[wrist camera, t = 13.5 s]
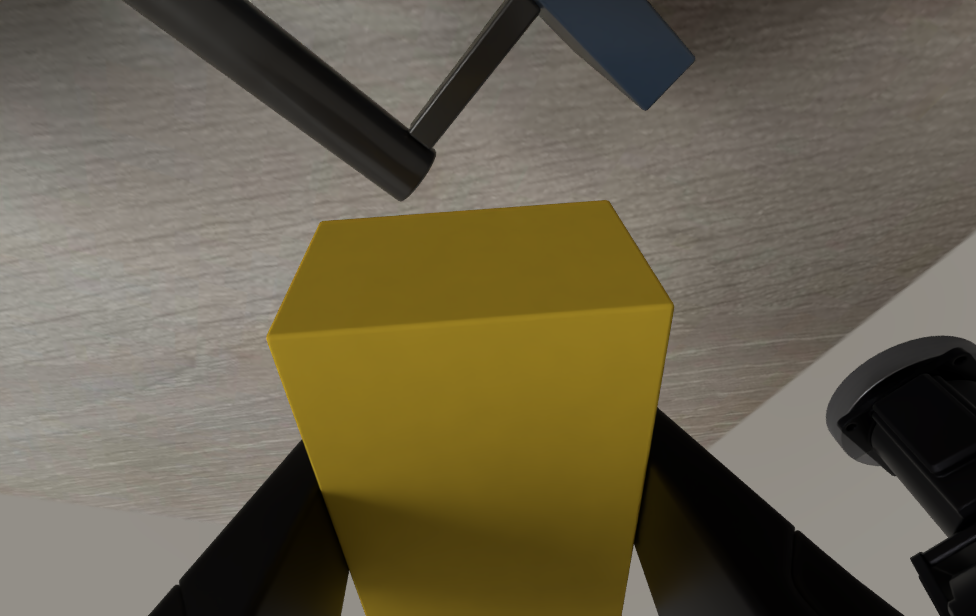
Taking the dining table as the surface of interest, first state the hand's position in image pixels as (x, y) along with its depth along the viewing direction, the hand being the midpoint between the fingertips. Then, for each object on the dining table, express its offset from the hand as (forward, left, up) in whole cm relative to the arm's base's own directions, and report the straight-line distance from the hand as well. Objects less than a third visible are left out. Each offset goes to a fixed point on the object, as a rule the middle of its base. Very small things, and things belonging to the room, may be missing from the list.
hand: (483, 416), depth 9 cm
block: (0, 0, -1) cm, 1 cm away
